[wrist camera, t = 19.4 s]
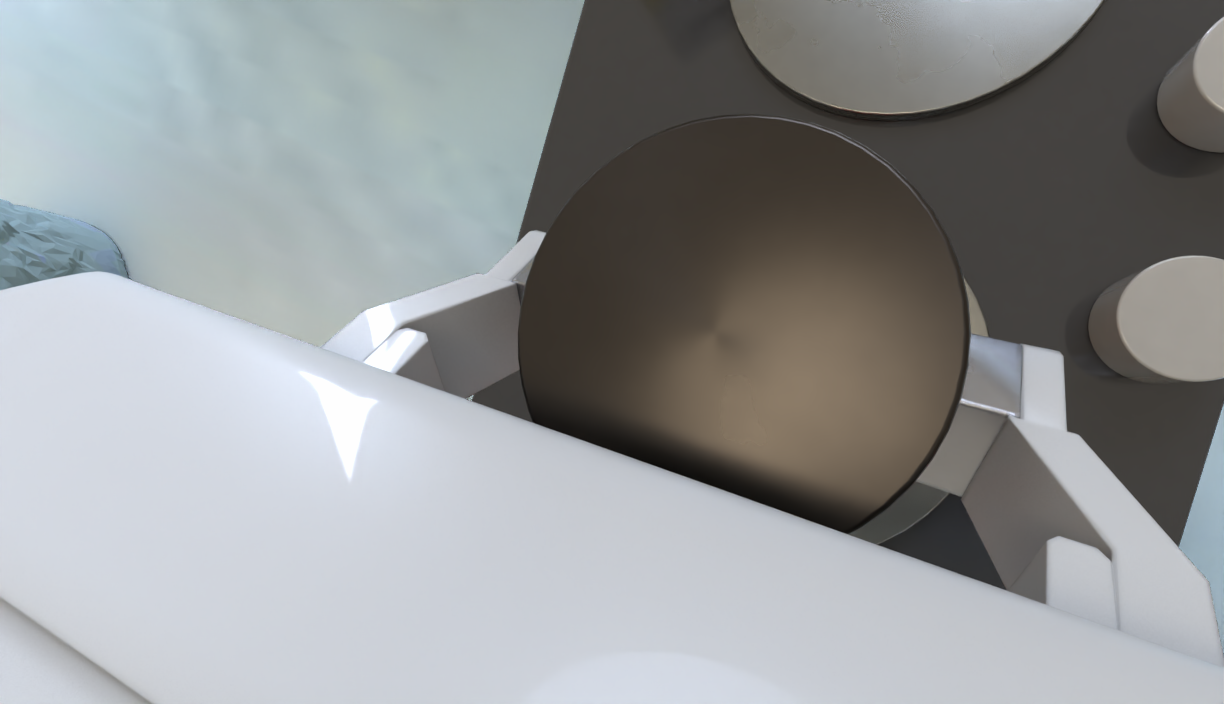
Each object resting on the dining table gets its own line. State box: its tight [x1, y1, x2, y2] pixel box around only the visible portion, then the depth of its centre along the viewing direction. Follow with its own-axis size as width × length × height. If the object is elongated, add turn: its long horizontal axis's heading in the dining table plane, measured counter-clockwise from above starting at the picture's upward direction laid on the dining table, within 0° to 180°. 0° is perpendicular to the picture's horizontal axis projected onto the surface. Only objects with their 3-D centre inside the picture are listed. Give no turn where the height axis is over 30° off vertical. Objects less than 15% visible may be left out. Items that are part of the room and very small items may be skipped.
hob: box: [472, 0, 1224, 590], centre depth 16 cm, size 17×22×4 cm
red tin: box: [518, 114, 971, 535], centre depth 12 cm, size 6×6×8 cm
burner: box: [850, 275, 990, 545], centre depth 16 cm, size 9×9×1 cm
